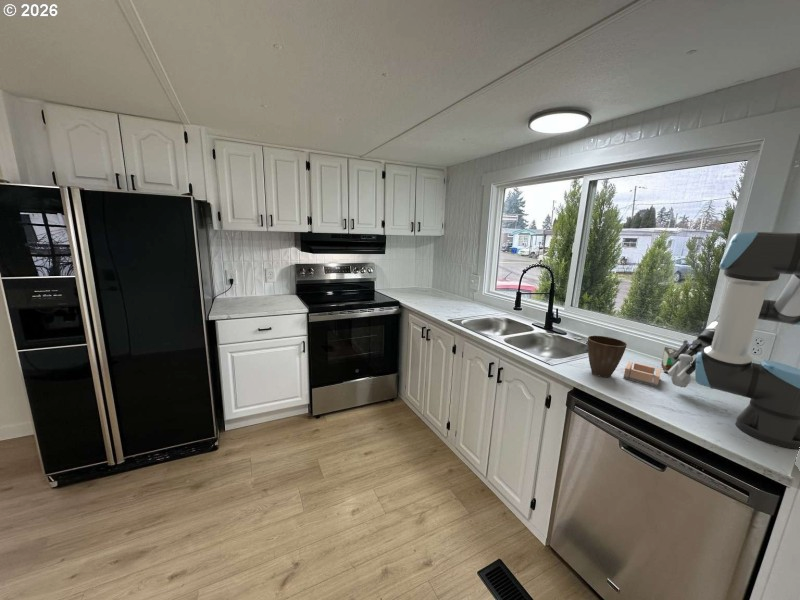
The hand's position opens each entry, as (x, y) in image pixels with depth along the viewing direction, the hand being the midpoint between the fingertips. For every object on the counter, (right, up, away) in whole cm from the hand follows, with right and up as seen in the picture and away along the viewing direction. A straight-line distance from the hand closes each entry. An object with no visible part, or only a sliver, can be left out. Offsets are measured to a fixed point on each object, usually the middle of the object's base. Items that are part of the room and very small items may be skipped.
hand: (674, 376), depth 128 cm
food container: (+20, -4, +25) cm, 32 cm away
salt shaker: (+3, -4, +2) cm, 6 cm away
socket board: (-2, -5, +15) cm, 16 cm away
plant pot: (-19, -3, +18) cm, 26 cm away
